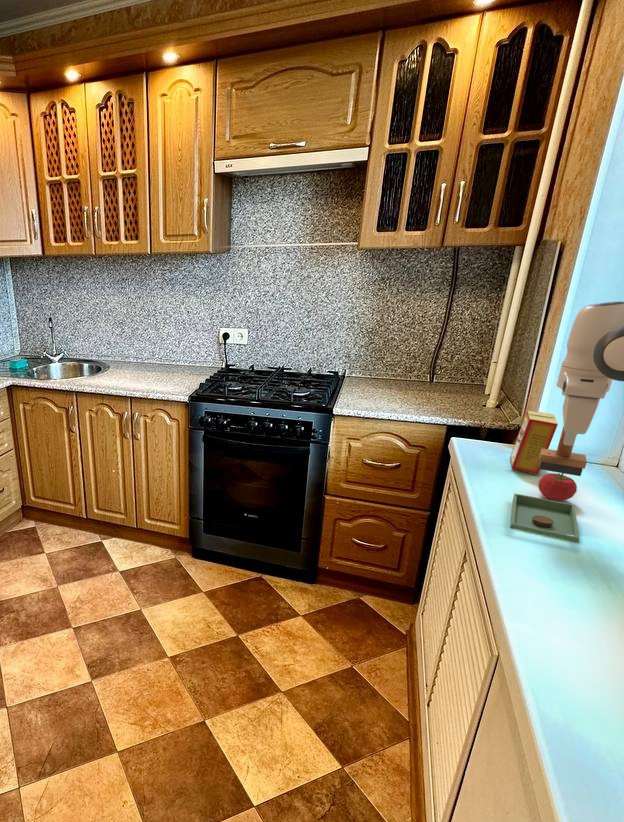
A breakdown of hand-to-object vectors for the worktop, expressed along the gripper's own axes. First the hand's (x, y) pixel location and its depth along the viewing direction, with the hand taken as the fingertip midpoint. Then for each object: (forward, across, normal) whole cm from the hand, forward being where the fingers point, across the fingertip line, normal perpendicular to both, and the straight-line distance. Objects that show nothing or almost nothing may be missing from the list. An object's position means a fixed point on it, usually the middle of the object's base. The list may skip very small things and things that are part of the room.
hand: (567, 441), depth 116 cm
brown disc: (+21, 0, 0) cm, 21 cm away
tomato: (+21, -19, +2) cm, 29 cm away
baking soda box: (+21, -40, -5) cm, 46 cm away
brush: (+7, 0, 0) cm, 7 cm away
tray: (+21, -1, -1) cm, 21 cm away
